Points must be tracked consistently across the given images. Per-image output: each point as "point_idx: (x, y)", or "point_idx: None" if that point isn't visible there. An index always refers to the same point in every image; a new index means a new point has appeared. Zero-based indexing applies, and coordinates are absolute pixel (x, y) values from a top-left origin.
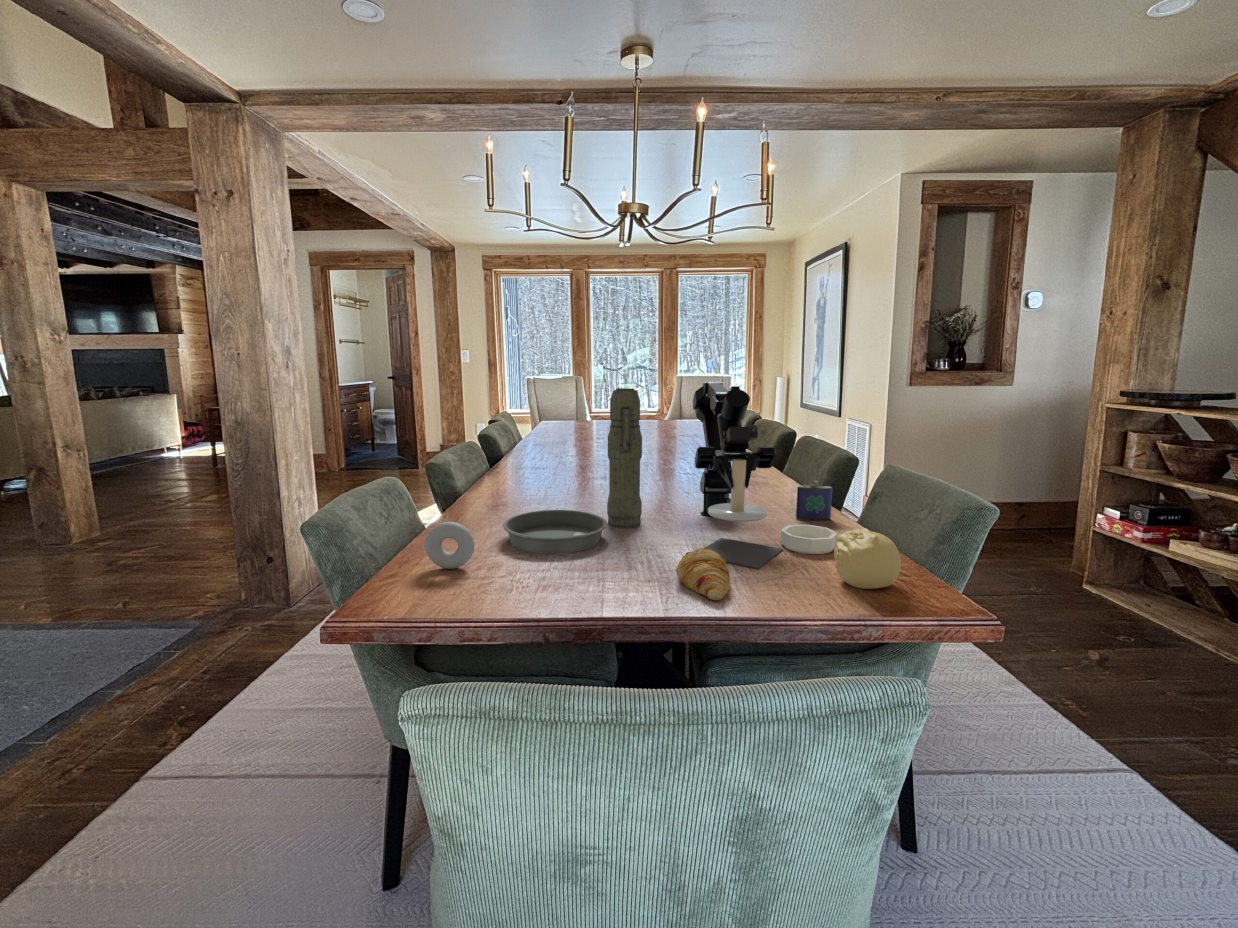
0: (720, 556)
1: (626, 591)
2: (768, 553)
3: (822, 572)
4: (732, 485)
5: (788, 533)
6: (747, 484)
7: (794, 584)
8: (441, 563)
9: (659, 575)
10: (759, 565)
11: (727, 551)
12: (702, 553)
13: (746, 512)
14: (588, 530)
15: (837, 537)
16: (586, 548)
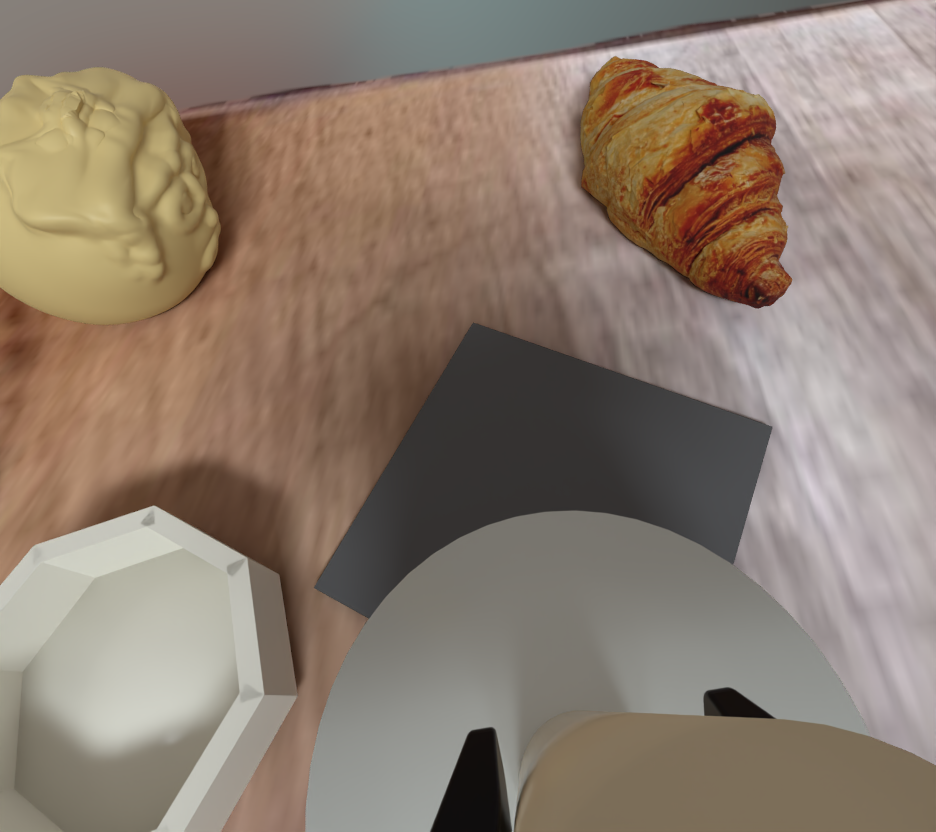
0: (629, 127)
1: (885, 108)
2: (404, 498)
3: (243, 338)
4: (717, 691)
5: (241, 612)
6: (482, 740)
7: (375, 231)
8: None
9: (836, 220)
10: (467, 342)
11: (607, 496)
12: (700, 90)
13: (500, 706)
14: None
15: (125, 195)
16: None
